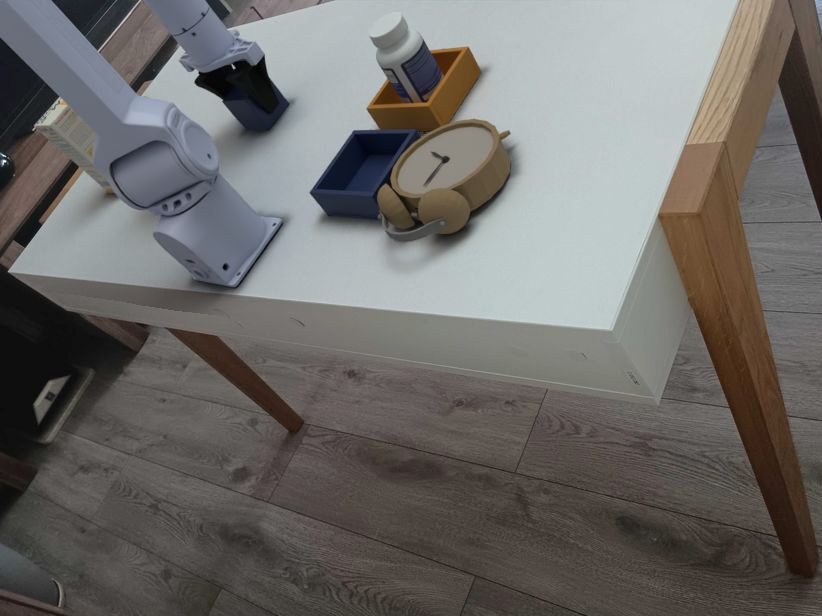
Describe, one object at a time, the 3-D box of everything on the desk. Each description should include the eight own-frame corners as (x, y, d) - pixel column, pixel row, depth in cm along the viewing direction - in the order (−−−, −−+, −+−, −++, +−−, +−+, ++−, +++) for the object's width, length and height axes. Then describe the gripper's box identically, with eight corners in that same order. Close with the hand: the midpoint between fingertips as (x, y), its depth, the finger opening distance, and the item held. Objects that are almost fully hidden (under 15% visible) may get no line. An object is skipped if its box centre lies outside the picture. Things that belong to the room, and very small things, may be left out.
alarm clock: (522, 117, 70) (430, 217, 63) (537, 162, 73) (451, 262, 66) (432, 117, 76) (340, 206, 69) (449, 158, 80) (363, 248, 73)
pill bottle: (453, 76, 84) (411, 0, 77) (448, 106, 81) (403, 29, 74) (411, 92, 86) (366, 18, 79) (404, 122, 83) (357, 48, 76)
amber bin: (443, 131, 80) (428, 106, 77) (381, 132, 85) (365, 108, 83) (481, 72, 83) (468, 46, 80) (419, 76, 88) (405, 52, 86)
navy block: (269, 130, 98) (244, 100, 94) (246, 130, 101) (221, 101, 97) (289, 103, 100) (266, 73, 96) (266, 105, 103) (243, 75, 99)
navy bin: (389, 220, 75) (371, 196, 72) (327, 215, 80) (308, 192, 78) (432, 153, 78) (416, 128, 76) (370, 153, 84) (353, 129, 81)
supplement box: (141, 153, 113) (70, 82, 103) (158, 153, 110) (87, 80, 100) (107, 194, 109) (31, 125, 100) (124, 195, 107) (47, 124, 97)
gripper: (245, -10, 87) (313, 85, 96) (176, 5, 95) (245, 90, 105) (210, 31, 84) (283, 124, 94) (142, 42, 93) (216, 126, 103)
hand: (261, 109), depth 99 cm, fingers closed on navy block, 5 cm apart
